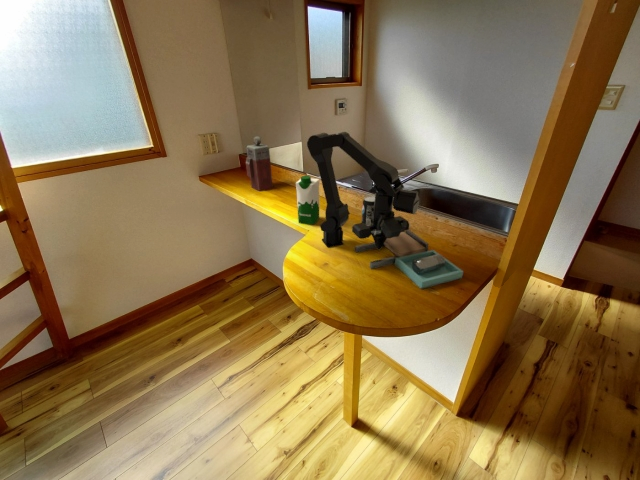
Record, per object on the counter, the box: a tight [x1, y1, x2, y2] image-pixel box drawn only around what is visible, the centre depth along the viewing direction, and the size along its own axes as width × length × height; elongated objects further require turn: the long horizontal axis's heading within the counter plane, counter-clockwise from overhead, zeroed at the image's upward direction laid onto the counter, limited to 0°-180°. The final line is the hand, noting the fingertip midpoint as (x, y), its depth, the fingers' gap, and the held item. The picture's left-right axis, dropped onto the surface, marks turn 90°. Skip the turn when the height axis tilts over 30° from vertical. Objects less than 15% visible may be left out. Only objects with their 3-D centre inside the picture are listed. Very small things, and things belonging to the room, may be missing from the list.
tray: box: [394, 249, 464, 290], centre depth 95 cm, size 15×14×2 cm
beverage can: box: [361, 195, 375, 226], centre depth 123 cm, size 7×7×12 cm
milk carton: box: [295, 175, 320, 226], centre depth 126 cm, size 9×9×20 cm
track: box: [354, 229, 430, 270], centre depth 104 cm, size 22×12×5 cm, turn 110°
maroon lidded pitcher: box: [245, 136, 274, 192], centre depth 163 cm, size 9×11×28 cm
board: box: [384, 232, 426, 257], centre depth 105 cm, size 10×13×3 cm
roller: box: [412, 253, 445, 274], centre depth 94 cm, size 9×4×4 cm, turn 111°
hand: (378, 249), depth 103 cm, fingers closed
